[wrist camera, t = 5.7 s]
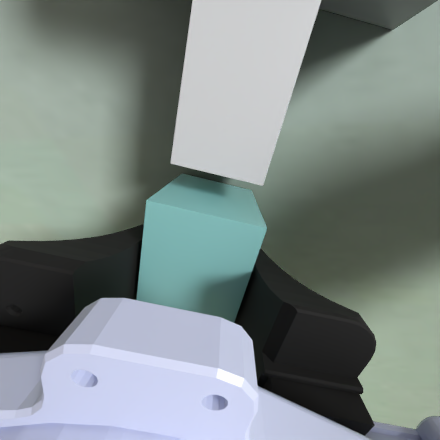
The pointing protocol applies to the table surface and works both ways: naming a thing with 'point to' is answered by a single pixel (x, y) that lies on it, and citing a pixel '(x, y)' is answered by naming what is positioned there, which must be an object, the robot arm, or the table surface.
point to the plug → (222, 152)
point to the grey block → (377, 10)
